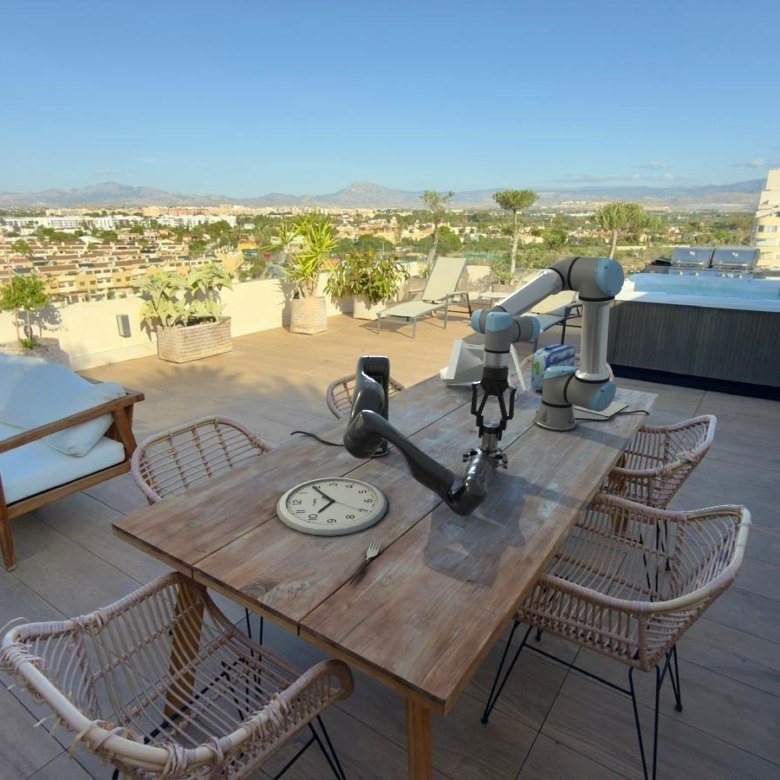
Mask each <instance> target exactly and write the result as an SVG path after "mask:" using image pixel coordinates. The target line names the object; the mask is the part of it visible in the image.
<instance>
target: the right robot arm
mask: <svg viewBox="0 0 780 780" xmlns="http://www.w3.org/2000/svg"><path fill="white" fill-rule="evenodd" d="M624 283H625V271H624V269H623V266H622V264H621V263H620V262H619V261H618V260H616V259H615V258H614V259H612V258H608V257H607V258H606V257H592V256H571V257H567V258H563V259H561V260H559V261H557V262H555V263H553V264H550V265H549V266H547V267H546V268H544V269H543V270H541V271H540V272H539V274H538V277H536V278H534V279H532V280H531V281H529V282H528V283H527V284H526V285H524V286H522V287H521V288H519V289H518V290H517V291H515V292H513V293H512V294H509V296H507V297H505V298H504V299H502V300H501V301H500V302H498V303H497V304H495V305H494V306H492V307H491V308H489V309H477V310H476V311H474V312H473V314H471V315H472V316H471V318H470V326H471V329H472V330H473V331H474V332H476V333H480V334H481V335H484V344H485V348H484V358H483V363H484V365H483V373H482V380H481V381H480V382H471V384H470V385H471V390H472V395H471V405H470V414H471V415H474V416H475V426H476V427H477V428H478V434H477V435H478V439H482V433H483V431H482V423H483V422H485V421H484V420H485V419H484V418H485V415H482V414H483V411H484V408H485V405H486V404H487V401H488V399H489V396H494V397H496V398H497V401H498V406H499V410H500V415H501V418H500V419H499V422H498V423H499V434H498V442H501V441H502V439H503V431H504V432H505V431H506V429H507V425H508V421H512V420H513V419H514V416H515V402H516V401H515V400H516V399H515V393H516V394H517V390H518V387H517V386H515V385H514V387H513V386H511V385H509V383H508V371H510V368H509V365H510V360H509V359H510V347H511V344H512V345H513V344H517V343H524V342H530V341H533V340H535V339H537V338H538V337H539V336H540V333H541V323H540V321H539V319H538V318H537V317H535V316H534V315H524V314H526V313H527V312H528V311H530V310H532V309H533V308H534V307H536V306H537V305H539V304H540V303H542V302H543V301H545V300H546V299H547V298H549V297H550V296H555V295H558V294H560V293H561V292H568V291H570V292H578V294H577V295H578V296H577V297H578V298H577V299H578V301H579V302H580V303H581V304H582V309H581V310H582V313H581V335H580V356H579V357H580V358H579V359H580V360H579V369H578V368H577V367H576V366H574V367H571V366H555V367H549V368H547V369H546V371H545V375H544V378H543V379H544V382H543V391H541V392H542V394H541V402H540V405H539V407H538V410H537V409H536V410H535V417H534V424H535V425H536V426H537V427H539V428H542V429H544V430H549V431H556V432H567V431H572V430H574V429H575V428H576V421H592V422H609V421H611V420H613V417H614V416H618V415H623V414H624V415H626V414H637V413H645V414H647V415H650V413H649V412H648V411H646V410H644V409H638V410H632V411H621V412H620V411H618V412H616V413H614V414H612V415H611V416H609V417H608V418H605V419H603V418H602V419H601V418H587V417H586V418H584V417H576V416H575V413H574V407H573V406H575V407H576V406H579V407H583V408H586V409H588V410H593V411H597V412H601V411H604V410H605V409H607V408H608V407H609V405H610V404H611V402H612V401H614V398H615V396H616V392H617V386H616V384H615V383H614V382H613V381H610V378H611V374H610V372H609V371H608V370H607V353H608V339H609V338H608V337H609V320H610V307H611V303H612V302H613V301H615V300H616V296H617V295H619V294H620V293H621V291H622V290H623V287H624ZM480 387H481V388H482V390H483V392H484V393H483V396H482V399H481V401H480V405H479V407H478V410H477V405H478V397H479V389H480ZM506 390H508V394H509V399H508V400H509V403H508V412H507V406H506V402H505V395H504V393H505V392H506Z"/></svg>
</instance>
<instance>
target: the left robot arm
mask: <svg viewBox="0 0 780 780" xmlns="http://www.w3.org/2000/svg"><path fill="white" fill-rule="evenodd" d="M355 367H356V368H355V383H354V388H353V392H352V397H351V405H350V410H349V418H348V422H347V425H346V427H345V430H344V432H343V435H342V443H343V444H339V443H334V442H331V441H327V440H324V439H321V438H320V437H319V436H317V435H316V434H314V433H311V432H306V431H302V430H295V431H292V432H291V433H290V434H289V436H293V435H295V434H303V435H306V436H310V437H314V438H315V439H316V440H317V441H319V442H321V443H323V444H326V445H329V446H333V447H344V448H345V450H346V451H347V452H348V454H349V455H350V456H352V457H353V458H354V459H357V460H367V459H369V458H371V457H372V458H379V457H383V456H386V455H387V454H389V445H392V447H394V448H395V449H396V450H397V451H398V453H399V454H400V456H401V458H402V460H403V462H404V464H405V467H406V468H407V470H408V472H409V473H410V476H411V477H412V478H413V479H414V480H415V481H416V482H418V483H419V484H420V485H422V486H423V487H425V488H427V489H428V490H430V492H433V493H435V495H437V496H438V497H439V499H441V500H442V501H443V503H444V504H445V505H446V506H447V507H448V508H449V509H450V510H451V512H452V513H453V514H455V515H456V516H458V517H461V518H462V517H463V518H465V517H466V518H467V517H469V516H471V515H472V514H473V513H474V512H475V511H476V510H477V509H478V508H479V507H480V506H481V505H482V504H483V503H484V502H486V499H487V498H488V496H489V488H488V486H489V484H490V483H491V481H492V479H493V477H494V474H495V473H496V469H498V468H499V467H501V468H502V469H504V470H507V469H508V465H509V460H508V455H507V453H505V452H504V453H503V449H501V447H498V446H497V451H496V453H492V454H490V455H487V454H483V453H482V451H481V446H482V444H480V445H478V446H477V448H475V449H474V448H473V447H472V448H469V449H467V450H466V451H465V452H463V453H462V463H467V462H469V464H468V465H466V469H465V472H464V474H463V477H462V479H461V484H460V485H459V486H458V487H457V488H456V489H455V490H454V489H452V487H453V486H454V484H455V480H456V476H455V475H456V474H455V473H454V472H453V471H452V470H451V469H449V468H448V467H446V466H445V465H443V464H441V463H440V462H438V461H437V460H435V459H434V458H432V457H431V456H430V455H428V454H427V453H425V452H424V451H423V450H421V448H419V447H418V446H417V445H416V444H415V443H414V442H412V441H411V440H410V439H409V438H408V437H407V436H406V435H404V433H402V432H401V431H400V430H399V429H397V428H396V427H395V426H394V425H393V424H392V423H391V422H389V418H390V417H389V415H390V414H389V411H390V410H389V409H390V407H389V405H390V395H389V394H390V377H391V361H390V358H389V357H388V356H385V355H363V356H360V357H359V358H358V360H357V362H356V366H355ZM494 472H495V473H494Z"/></svg>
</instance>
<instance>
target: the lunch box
mask: <svg viewBox="0 0 780 780" xmlns="http://www.w3.org/2000/svg"><path fill="white" fill-rule="evenodd" d="M575 357H576V349H575V346H572V345H565V344H560V343H555V344H552V345H547V346H545V347H542V348H539V349H537V350H536V351H535V353H534V355H533V358H532V363H531V364H532V365H531V376H530V377H531V378H530V387H531V389H532V390H536V391H539V392H540V391H541V392H542V391H543V382H544V379H543V378H544V375H545V371H546V369H547V368H549V367H555V366H571V367H575V360H576V358H575Z"/></svg>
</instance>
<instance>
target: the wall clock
mask: <svg viewBox="0 0 780 780" xmlns="http://www.w3.org/2000/svg"><path fill="white" fill-rule="evenodd" d="M387 509H388V500H387V498H386V496H385V494H384V493H383V492H382V491H381V490H380V489H379V488H377V487H376V486H374V485H372V484H371V483H369V482H365V481H362V480H359V479H355V478H349V477H338V476H337V477H335V476H333V477H332V476H331V477H322V478H317V479H312V480H307V481H305V482H302V483H299V484H297V485H295V486H293V487H292V488H290V489H288V490H287V491H286V492H285V493H284V494H283V495H281V496H280V498H279V499H278V502H277V503H276V515H277V517H278V518H279V520H280V521H281V522H282V523H283V524H285V525H286V526H287V527H288V528H290V529H293V530H295V531H297V532H299V533H303V534H308V535H312V536H327V537H328V536H329V537H331V536H332V537H333V536H342V535H350V534H352V533H356V532H361V531H363V530H366V529H368V528H369V527H372V526H373V525H375V524H376V523H378V522H379V521H380V520H381V519H382V518H383V517H384V516H385V514H386V512H387Z"/></svg>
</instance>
